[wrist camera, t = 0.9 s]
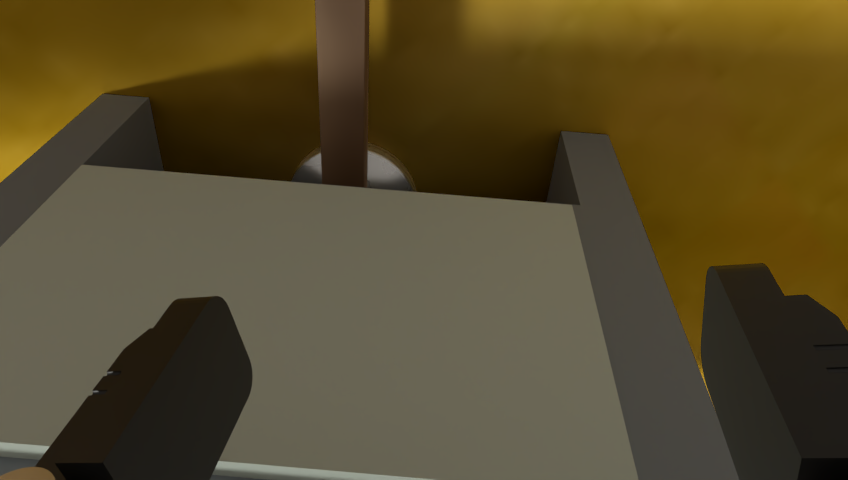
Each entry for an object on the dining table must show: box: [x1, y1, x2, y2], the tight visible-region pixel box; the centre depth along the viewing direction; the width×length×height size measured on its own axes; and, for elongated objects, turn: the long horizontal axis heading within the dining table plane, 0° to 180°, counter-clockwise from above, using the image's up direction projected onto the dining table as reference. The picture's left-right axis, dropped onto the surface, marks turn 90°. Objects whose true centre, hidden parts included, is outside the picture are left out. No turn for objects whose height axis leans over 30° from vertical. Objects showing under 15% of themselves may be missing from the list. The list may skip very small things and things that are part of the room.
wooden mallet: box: [315, 0, 369, 188], centre depth 29 cm, size 11×25×8 cm, turn 176°
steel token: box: [291, 143, 417, 192], centre depth 36 cm, size 7×7×2 cm
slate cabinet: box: [0, 94, 739, 480], centre depth 29 cm, size 26×19×22 cm
